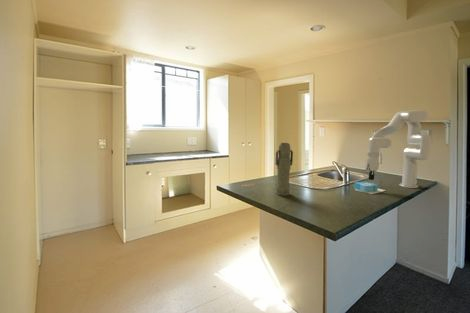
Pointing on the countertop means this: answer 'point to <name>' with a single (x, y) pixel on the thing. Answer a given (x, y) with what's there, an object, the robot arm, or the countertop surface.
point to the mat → (372, 192)
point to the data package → (365, 186)
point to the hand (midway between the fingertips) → (371, 179)
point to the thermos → (283, 169)
